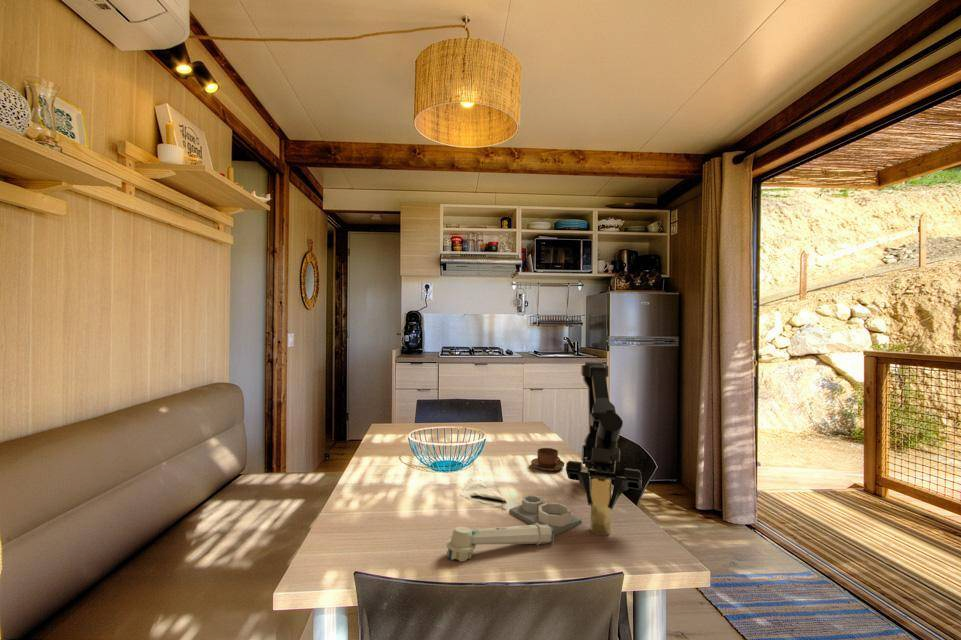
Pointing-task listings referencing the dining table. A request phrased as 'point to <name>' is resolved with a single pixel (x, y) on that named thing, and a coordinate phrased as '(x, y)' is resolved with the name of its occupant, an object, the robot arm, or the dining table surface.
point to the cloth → (481, 493)
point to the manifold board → (545, 513)
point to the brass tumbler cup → (600, 505)
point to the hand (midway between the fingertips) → (600, 506)
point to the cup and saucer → (547, 460)
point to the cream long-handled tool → (495, 538)
